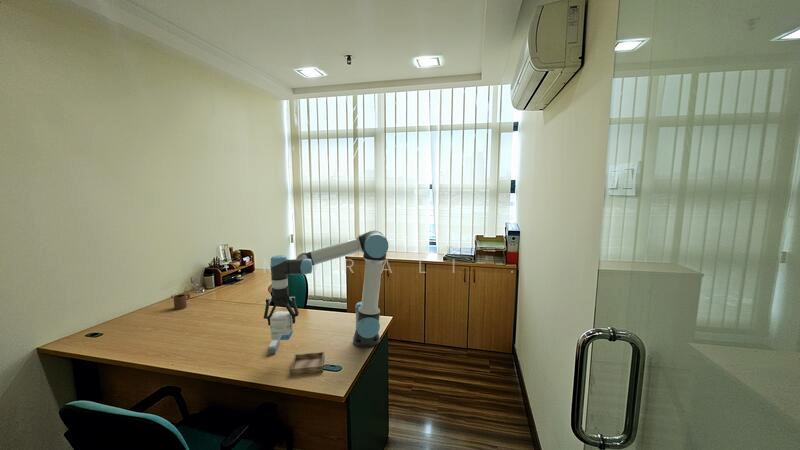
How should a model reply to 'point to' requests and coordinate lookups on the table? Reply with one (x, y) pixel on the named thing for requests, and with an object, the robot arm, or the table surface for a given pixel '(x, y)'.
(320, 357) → the tray
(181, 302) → the mug
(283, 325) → the ink box
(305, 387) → the table surface
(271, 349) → the grey rectangular block
